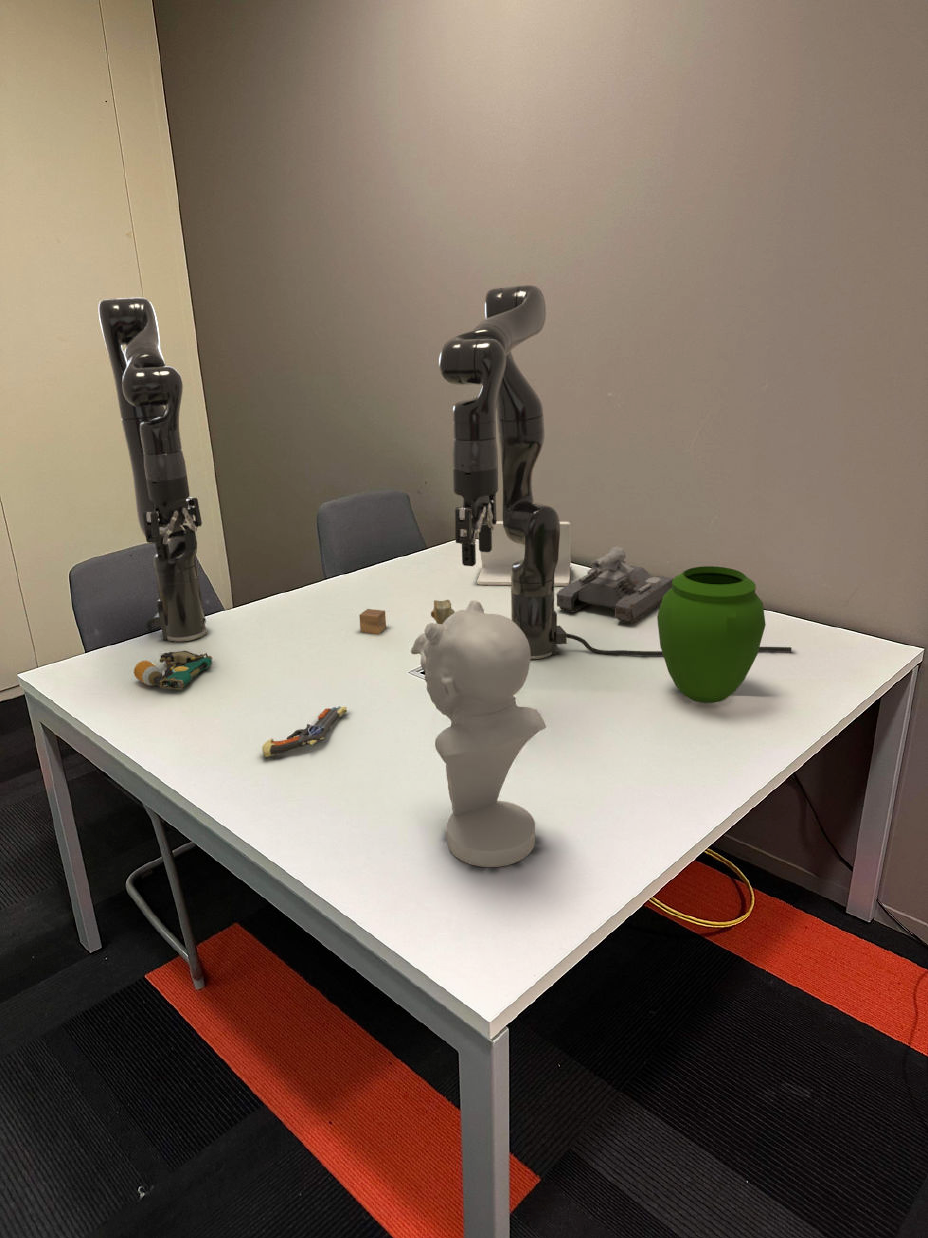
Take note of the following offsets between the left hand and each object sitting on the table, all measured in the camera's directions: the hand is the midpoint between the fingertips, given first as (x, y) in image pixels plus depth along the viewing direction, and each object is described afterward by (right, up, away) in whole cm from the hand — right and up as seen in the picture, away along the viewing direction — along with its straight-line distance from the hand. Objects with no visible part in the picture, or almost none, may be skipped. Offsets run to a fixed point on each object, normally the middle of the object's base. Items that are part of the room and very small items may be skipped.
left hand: (178, 555), depth 170 cm
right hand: (+59, -2, -22) cm, 63 cm away
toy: (+95, -9, +44) cm, 105 cm away
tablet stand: (+74, 0, +69) cm, 101 cm away
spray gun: (-4, -25, +11) cm, 27 cm away
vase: (+103, -28, -5) cm, 107 cm away
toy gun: (+28, -34, -16) cm, 47 cm away
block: (+35, -15, +33) cm, 51 cm away
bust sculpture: (+58, -44, -45) cm, 85 cm away
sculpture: (+53, -24, +10) cm, 59 cm away
